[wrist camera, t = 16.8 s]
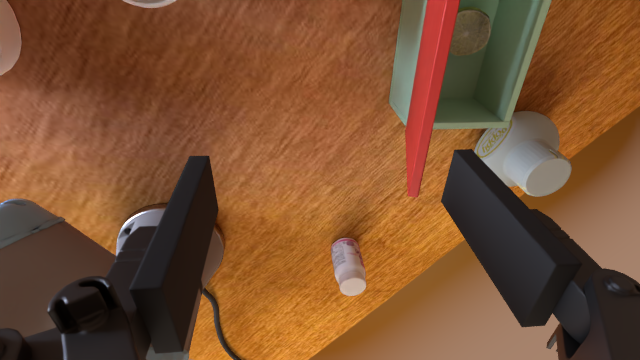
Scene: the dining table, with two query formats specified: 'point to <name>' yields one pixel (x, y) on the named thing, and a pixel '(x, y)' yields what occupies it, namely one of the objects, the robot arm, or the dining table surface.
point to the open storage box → (472, 64)
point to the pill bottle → (348, 266)
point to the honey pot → (8, 37)
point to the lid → (428, 85)
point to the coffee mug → (150, 3)
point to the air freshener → (526, 154)
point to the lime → (470, 31)
